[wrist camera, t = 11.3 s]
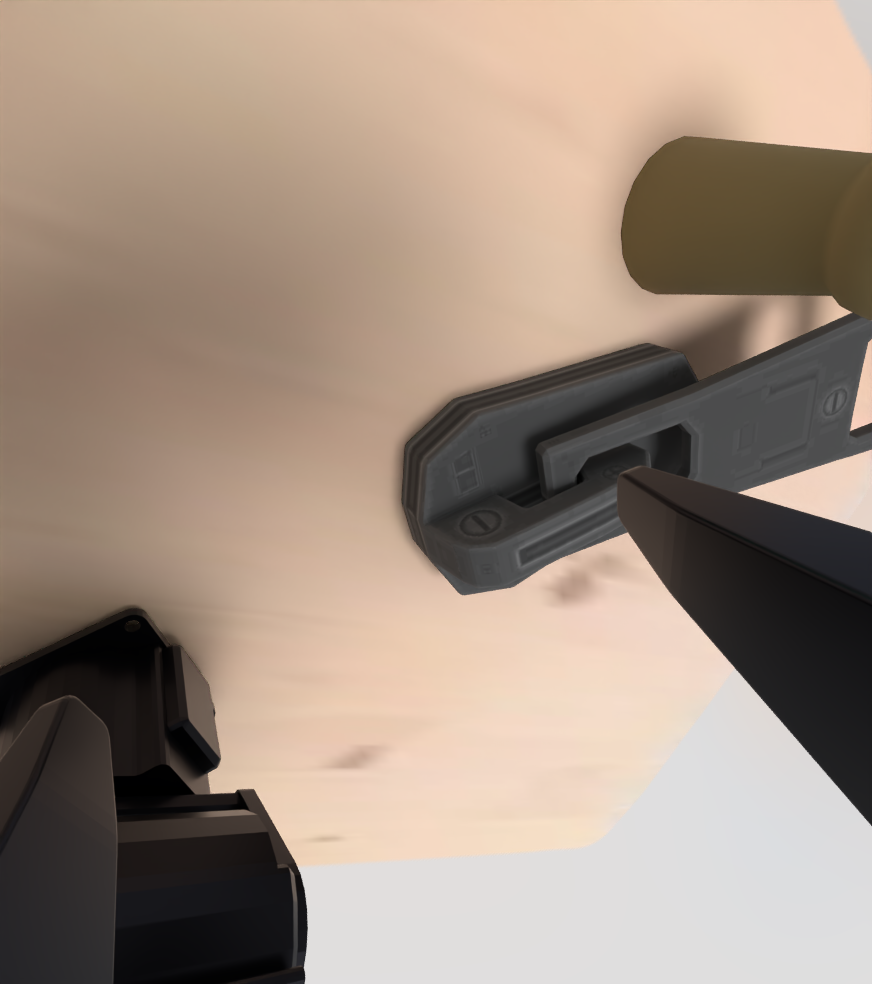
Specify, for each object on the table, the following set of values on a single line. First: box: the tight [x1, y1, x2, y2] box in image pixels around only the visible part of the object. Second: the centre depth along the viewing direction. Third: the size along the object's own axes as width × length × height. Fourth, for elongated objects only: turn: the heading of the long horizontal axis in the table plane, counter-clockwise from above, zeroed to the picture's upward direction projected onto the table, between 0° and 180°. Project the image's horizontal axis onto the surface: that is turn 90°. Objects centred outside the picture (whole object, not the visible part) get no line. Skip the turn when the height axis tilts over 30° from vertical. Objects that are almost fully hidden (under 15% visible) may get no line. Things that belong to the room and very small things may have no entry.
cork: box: [621, 136, 872, 320], centre depth 20 cm, size 6×6×11 cm
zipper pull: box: [402, 313, 872, 595], centre depth 25 cm, size 9×7×25 cm
